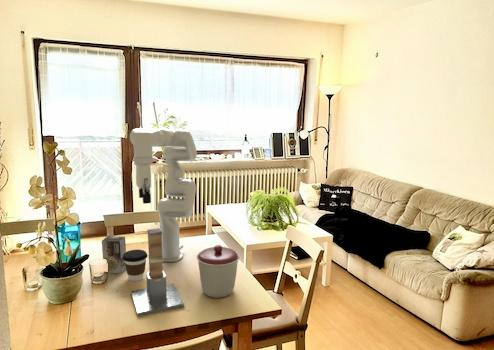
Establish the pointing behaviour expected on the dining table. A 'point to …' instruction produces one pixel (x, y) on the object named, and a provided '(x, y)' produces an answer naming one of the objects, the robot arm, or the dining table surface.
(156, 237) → the post
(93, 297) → the dining table surface
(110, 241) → the coffee box
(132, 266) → the coffee cup
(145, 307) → the stand
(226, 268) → the canister
